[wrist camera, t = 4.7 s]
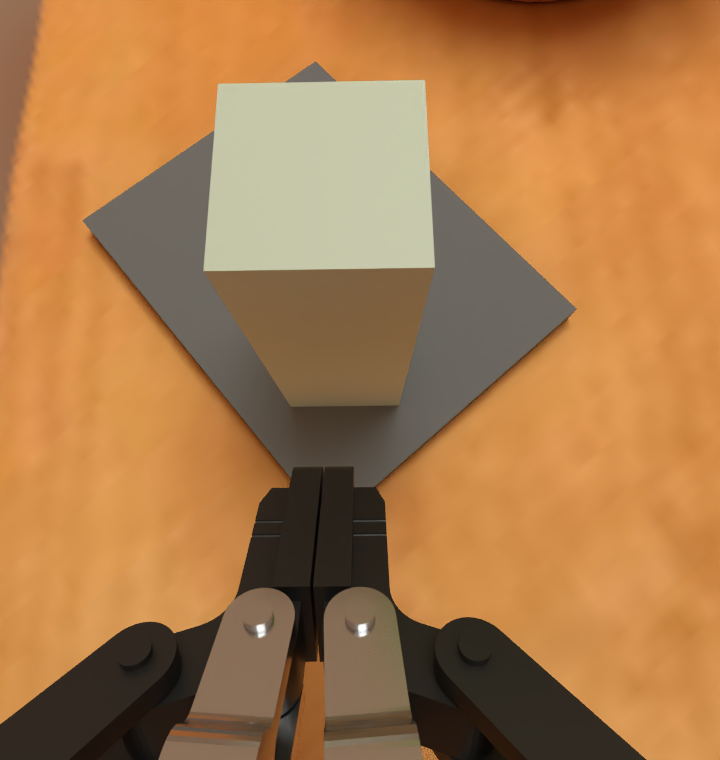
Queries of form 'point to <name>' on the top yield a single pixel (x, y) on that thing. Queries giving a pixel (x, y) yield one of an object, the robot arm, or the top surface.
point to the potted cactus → (534, 0)
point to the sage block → (324, 232)
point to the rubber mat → (433, 343)
